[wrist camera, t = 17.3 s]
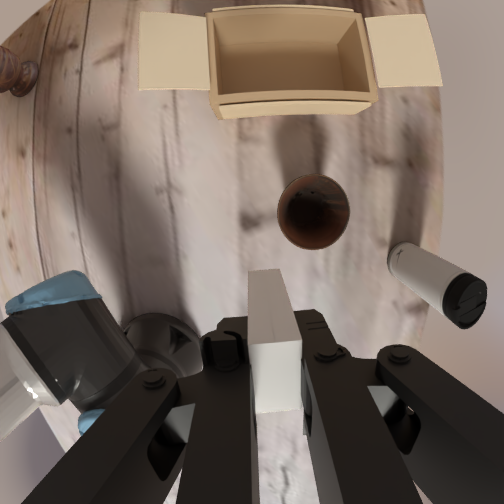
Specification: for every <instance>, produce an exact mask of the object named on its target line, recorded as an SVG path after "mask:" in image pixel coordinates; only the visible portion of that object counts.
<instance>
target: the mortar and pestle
mask: <svg viewBox="0 0 504 504" xmlns="http://www.w3.org/2000/svg"><path fill="white" fill-rule="evenodd" d="M37 76H38V67H37V64H36V62H31V61H27V62H23V63H20V59H19V58H18V57H17V56H16V55H14V53H12V52H11V51H10V50H9V49H7V48H4V47H2V46H0V93H3V92H6V91H7V90H9V89H10V92H11V93H12V94H13V95H14V96H17V97H22V96H25V95H26V94H27V93H28V92H29V91H30V90H31V89H32V87H33V86H34V84H35V82H36V79H37Z"/></svg>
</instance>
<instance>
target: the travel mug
mask: <svg viewBox="0 0 504 504" xmlns="http://www.w3.org/2000/svg"><path fill="white" fill-rule="evenodd" d="M388 269H389V271H390V273H391V274H392V275H393V276H394V277H396V278H397V279H398V280H400V281H401V282H402V283H403V284H405V285H406V286H407V287H409V288H410V289H411V290H412V291H414V292H415V293H416V294H418V295H419V296H420V297H421V298H423V299H424V300H425V301H426V302H428V303H429V304H430V305H431V306H433V307H434V308H435V309H437V310H438V311H439V312H440V313H441V314H443V315H444V316H445V317H446V318H448V319H449V320H451V321H452V322H453V323H454V324H455V325H457V326H458V327H459V328H461V329H468V328H470V327H472V326H473V325H474V324H475V323H476V322H477V321H478V320H479V318H480V317H481V315H482V314H483V312H484V309H485V306H486V299H487V286H486V283H485V282H484V281H483V280H481V279H479V278H478V277H476V276H474V275H472V274H471V273H469V272H467V271H465V270H463V269H462V268H460V267H458V266H456V265H454V264H452V263H450V262H448V261H446V260H444V259H442V258H440V257H438V256H436V255H434V254H432V253H430V252H428V251H426V250H424V249H422V248H420V247H418V246H416V245H414V244H412V243H409V242H401V243H399V244H397V245H396V246H395V247H394V248H393V249H392V250H391V252H390V254H389V257H388Z"/></svg>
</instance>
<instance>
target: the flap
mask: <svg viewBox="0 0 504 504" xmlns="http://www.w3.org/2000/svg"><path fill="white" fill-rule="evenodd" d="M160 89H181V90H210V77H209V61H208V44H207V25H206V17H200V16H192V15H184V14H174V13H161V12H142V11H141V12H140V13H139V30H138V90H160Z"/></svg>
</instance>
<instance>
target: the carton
mask: <svg viewBox="0 0 504 504" xmlns="http://www.w3.org/2000/svg"><path fill="white" fill-rule="evenodd" d="M204 15H205V17H206V25H207V44H208V61H209V77H210V90H209V100H210V106H211V107H212V109H213V111H214V113H215V115H216V116H217V118H218V120H221V119H232V118H244V117H257V116H273V115H298V114H345V115H355V114H356V113H358V112H360V111H362V110H364V109H366V108H368V107H370V106H371V104H373V103H375V102H377V101H378V94H377V87H376V81H375V75H374V69H373V63H372V58H371V53H370V48H369V43H368V38H367V34H366V30H365V25H364V21H363V17H362V14H361V13H354V11H353V9H347V8H338V7H327V6H313V5H250V6H236V7H225V8H216V9H213V12H210V13H204Z"/></svg>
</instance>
